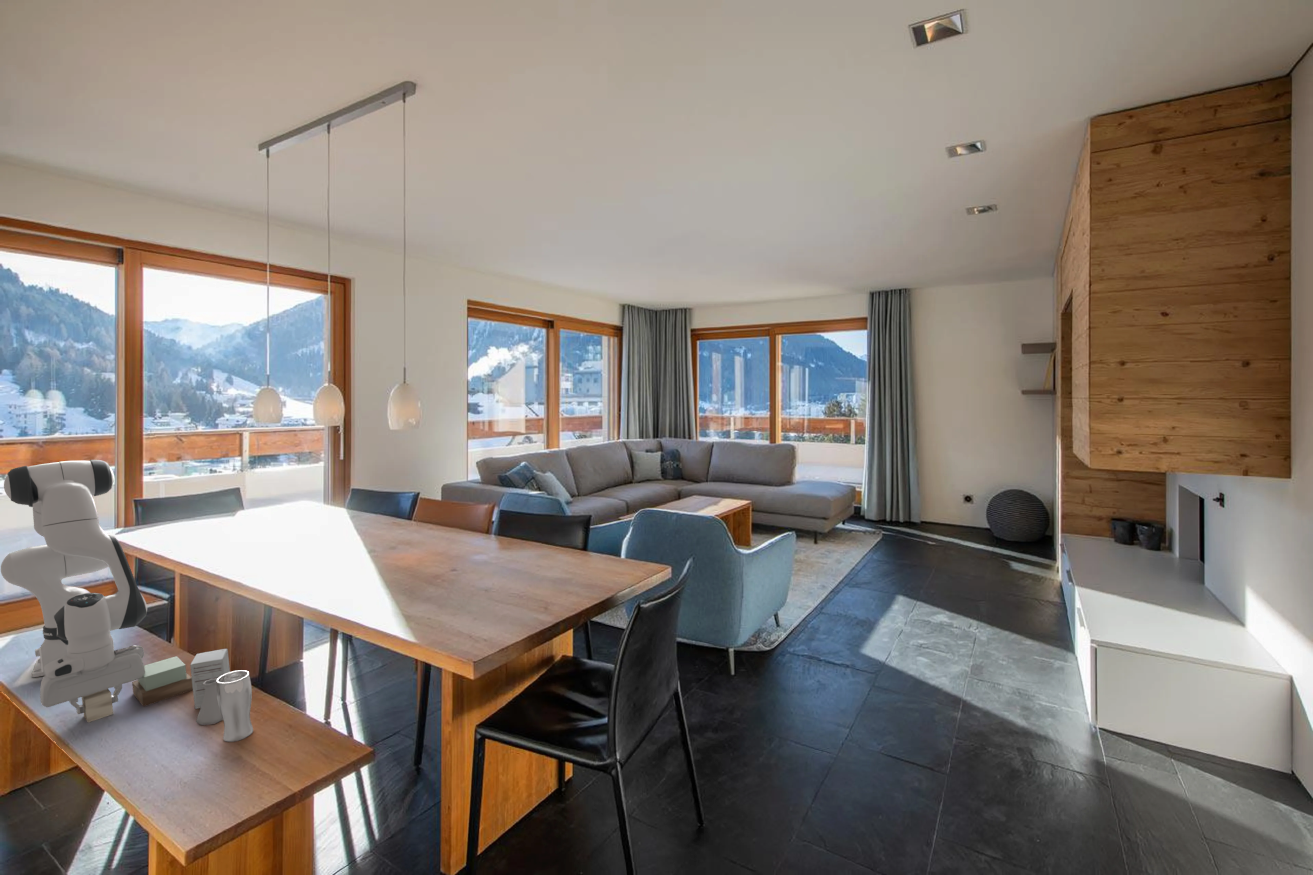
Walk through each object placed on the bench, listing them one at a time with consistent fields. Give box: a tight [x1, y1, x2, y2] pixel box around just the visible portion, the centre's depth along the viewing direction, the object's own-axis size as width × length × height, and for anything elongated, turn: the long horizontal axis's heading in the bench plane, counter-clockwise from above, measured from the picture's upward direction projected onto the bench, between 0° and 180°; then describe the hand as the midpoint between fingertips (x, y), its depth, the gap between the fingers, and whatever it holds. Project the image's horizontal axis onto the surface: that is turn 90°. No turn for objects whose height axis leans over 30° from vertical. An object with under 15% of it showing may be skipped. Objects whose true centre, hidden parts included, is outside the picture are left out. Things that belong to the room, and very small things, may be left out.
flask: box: [195, 679, 223, 726], centre depth 158 cm, size 7×7×10 cm
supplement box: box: [189, 648, 231, 710], centre depth 167 cm, size 7×7×13 cm
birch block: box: [81, 688, 114, 723], centre depth 160 cm, size 5×5×6 cm
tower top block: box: [138, 655, 187, 691], centre depth 172 cm, size 9×9×4 cm
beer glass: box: [217, 669, 254, 743], centre depth 149 cm, size 7×7×15 cm
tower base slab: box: [131, 672, 193, 707], centre depth 172 cm, size 11×11×4 cm
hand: (97, 707), depth 160 cm, fingers closed on birch block, 5 cm apart
